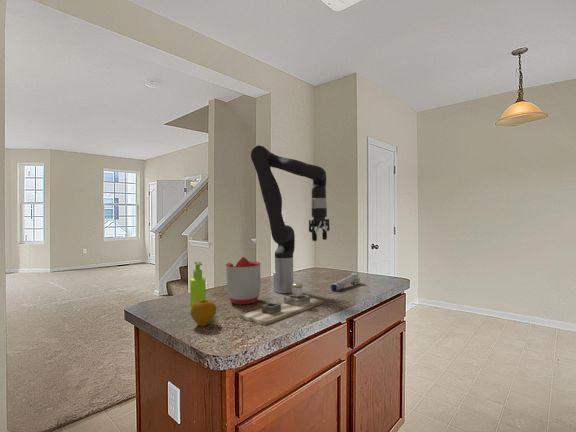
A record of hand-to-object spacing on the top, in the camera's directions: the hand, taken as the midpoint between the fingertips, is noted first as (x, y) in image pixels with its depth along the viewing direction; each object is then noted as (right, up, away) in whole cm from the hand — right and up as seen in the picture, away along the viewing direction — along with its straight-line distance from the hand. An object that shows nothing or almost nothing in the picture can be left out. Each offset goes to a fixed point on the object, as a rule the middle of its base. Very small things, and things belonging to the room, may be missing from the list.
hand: (319, 240), depth 161 cm
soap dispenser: (-52, -27, -30) cm, 66 cm away
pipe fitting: (-12, -25, -24) cm, 36 cm away
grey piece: (+15, -26, +11) cm, 32 cm away
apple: (-45, -27, -46) cm, 70 cm away
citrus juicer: (-36, -27, -15) cm, 47 cm away
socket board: (-17, -26, -30) cm, 43 cm away
